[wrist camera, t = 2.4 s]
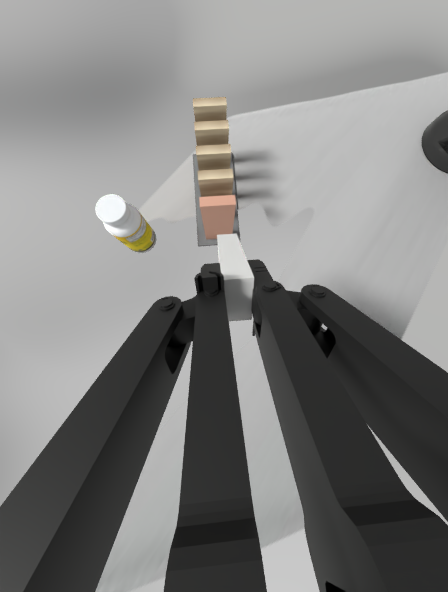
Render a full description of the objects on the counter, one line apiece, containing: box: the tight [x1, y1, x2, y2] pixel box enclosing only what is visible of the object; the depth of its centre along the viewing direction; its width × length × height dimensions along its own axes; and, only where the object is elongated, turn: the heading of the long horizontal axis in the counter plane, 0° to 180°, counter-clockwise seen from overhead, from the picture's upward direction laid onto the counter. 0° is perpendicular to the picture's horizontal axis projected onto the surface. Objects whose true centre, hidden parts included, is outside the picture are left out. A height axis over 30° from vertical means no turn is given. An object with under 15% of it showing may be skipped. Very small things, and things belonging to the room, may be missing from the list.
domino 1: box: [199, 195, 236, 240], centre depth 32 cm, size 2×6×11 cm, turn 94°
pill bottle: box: [96, 194, 156, 253], centre depth 32 cm, size 6×6×11 cm
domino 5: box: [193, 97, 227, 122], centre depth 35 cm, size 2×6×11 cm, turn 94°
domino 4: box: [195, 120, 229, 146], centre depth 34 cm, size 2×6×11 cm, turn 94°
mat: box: [193, 152, 240, 246], centre depth 39 cm, size 22×9×1 cm, turn 4°
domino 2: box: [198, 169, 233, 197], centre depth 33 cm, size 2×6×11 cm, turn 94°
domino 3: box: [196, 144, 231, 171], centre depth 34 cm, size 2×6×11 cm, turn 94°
